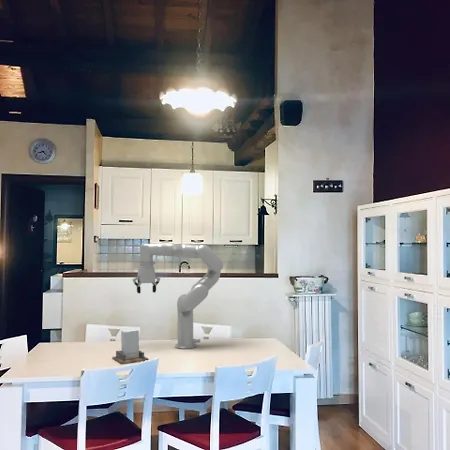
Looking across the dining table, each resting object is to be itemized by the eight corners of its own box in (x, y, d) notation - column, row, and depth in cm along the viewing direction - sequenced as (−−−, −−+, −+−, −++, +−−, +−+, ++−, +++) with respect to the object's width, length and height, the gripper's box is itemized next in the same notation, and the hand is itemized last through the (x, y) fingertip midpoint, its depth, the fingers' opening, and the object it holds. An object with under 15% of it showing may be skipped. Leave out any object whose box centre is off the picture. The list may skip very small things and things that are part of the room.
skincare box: (135, 355, 250) (135, 328, 250) (139, 357, 244) (139, 330, 245) (120, 357, 245) (120, 329, 246) (124, 359, 240) (124, 331, 241)
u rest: (138, 355, 255) (138, 347, 255) (148, 360, 242) (148, 353, 243) (112, 358, 247) (112, 351, 248) (121, 364, 235) (121, 356, 235)
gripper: (157, 263, 282) (157, 291, 281) (130, 264, 273) (130, 293, 272) (162, 264, 276) (162, 292, 275) (135, 264, 266) (135, 294, 266)
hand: (146, 292), depth 273 cm, fingers open, 9 cm apart
